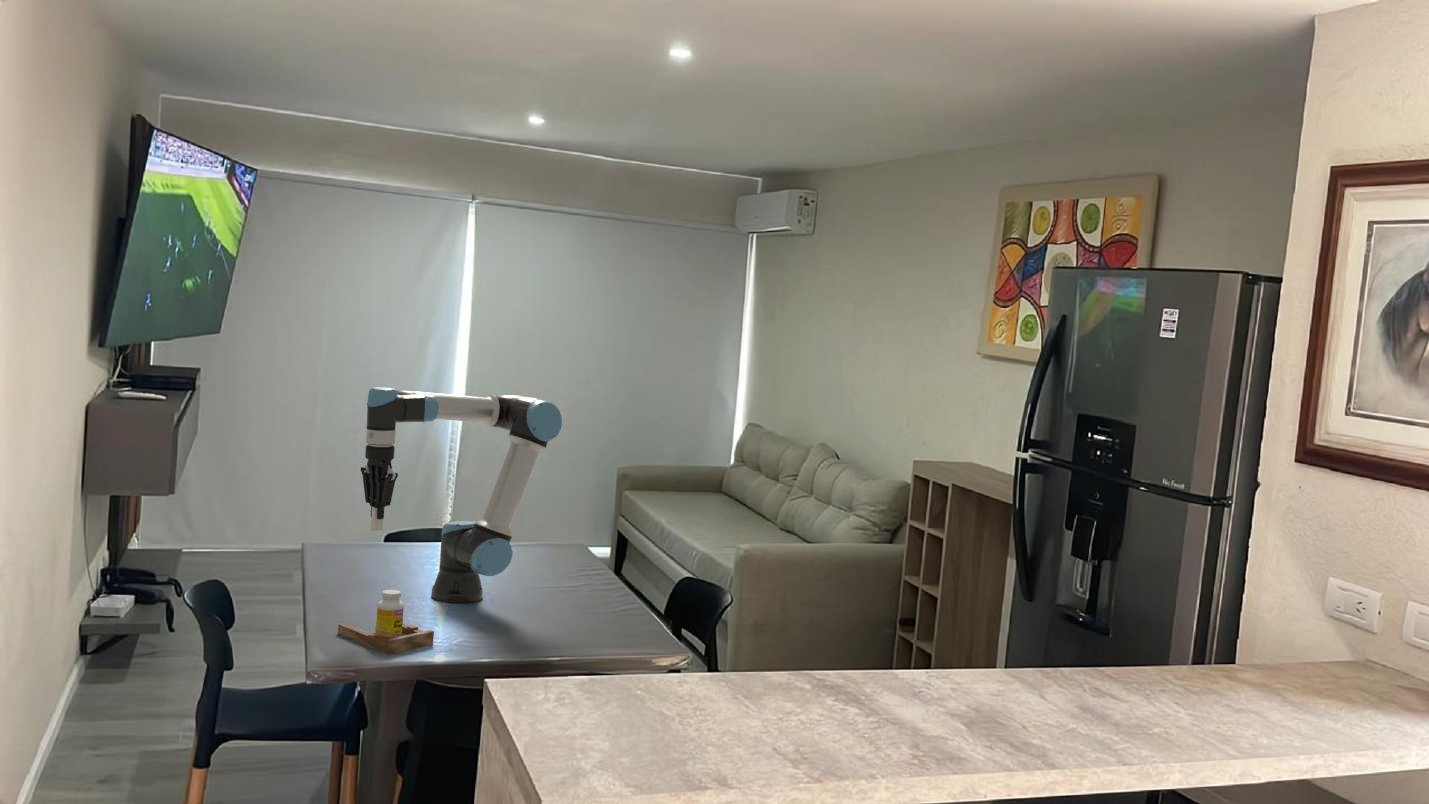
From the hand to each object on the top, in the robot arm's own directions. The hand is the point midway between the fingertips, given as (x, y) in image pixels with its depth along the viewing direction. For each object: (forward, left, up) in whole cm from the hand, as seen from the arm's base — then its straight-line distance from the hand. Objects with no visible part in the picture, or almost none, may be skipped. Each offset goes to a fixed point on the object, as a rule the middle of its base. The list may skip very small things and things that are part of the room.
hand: (376, 530), depth 309 cm
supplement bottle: (+6, +16, -26) cm, 31 cm away
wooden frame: (+6, +14, -26) cm, 30 cm away
